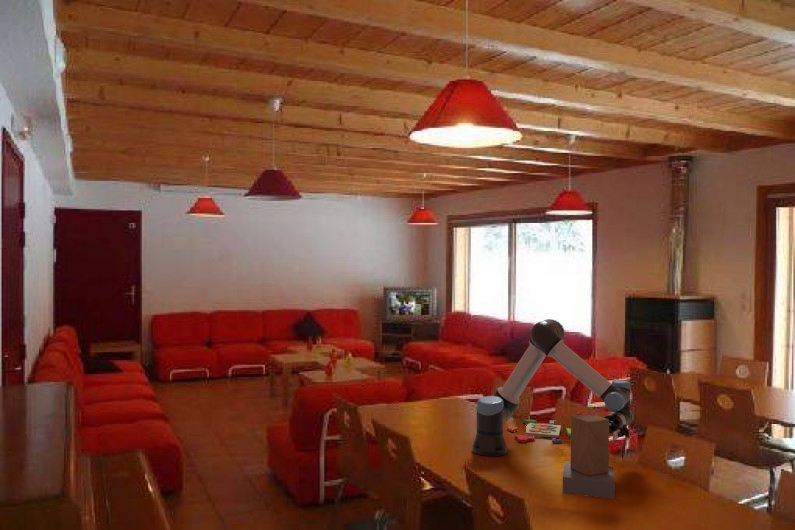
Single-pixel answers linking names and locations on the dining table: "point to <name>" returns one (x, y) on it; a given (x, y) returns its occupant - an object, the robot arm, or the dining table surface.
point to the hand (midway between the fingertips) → (595, 433)
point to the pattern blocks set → (539, 431)
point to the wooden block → (589, 444)
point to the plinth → (588, 483)
